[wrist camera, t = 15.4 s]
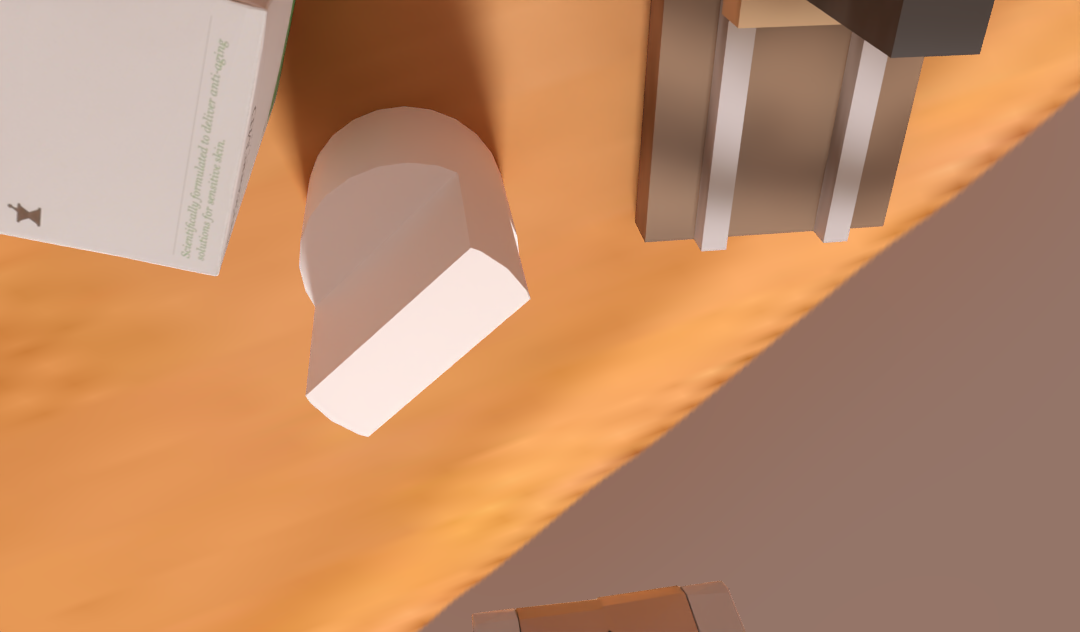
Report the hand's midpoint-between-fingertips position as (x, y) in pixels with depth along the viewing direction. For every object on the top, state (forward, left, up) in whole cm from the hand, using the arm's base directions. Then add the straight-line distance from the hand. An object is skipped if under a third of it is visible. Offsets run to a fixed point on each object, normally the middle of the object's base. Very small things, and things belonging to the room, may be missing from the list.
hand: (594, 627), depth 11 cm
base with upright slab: (+10, -2, -32) cm, 34 cm away
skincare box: (0, -9, -32) cm, 33 cm away
